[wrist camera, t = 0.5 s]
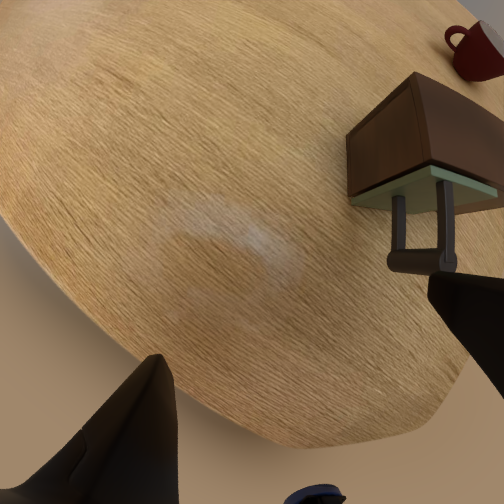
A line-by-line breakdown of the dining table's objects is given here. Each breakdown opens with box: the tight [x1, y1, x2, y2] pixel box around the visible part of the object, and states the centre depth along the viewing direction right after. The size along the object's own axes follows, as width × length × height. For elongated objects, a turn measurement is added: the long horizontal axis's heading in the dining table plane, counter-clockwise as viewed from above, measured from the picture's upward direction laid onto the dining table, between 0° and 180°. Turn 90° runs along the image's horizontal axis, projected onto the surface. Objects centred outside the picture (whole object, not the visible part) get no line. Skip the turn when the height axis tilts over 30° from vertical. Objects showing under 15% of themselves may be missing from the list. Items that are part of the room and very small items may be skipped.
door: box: [351, 165, 498, 276], centre depth 17 cm, size 6×7×11 cm
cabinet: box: [346, 72, 504, 215], centre depth 18 cm, size 6×14×12 cm, turn 87°
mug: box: [445, 21, 504, 82], centre depth 20 cm, size 10×8×10 cm
